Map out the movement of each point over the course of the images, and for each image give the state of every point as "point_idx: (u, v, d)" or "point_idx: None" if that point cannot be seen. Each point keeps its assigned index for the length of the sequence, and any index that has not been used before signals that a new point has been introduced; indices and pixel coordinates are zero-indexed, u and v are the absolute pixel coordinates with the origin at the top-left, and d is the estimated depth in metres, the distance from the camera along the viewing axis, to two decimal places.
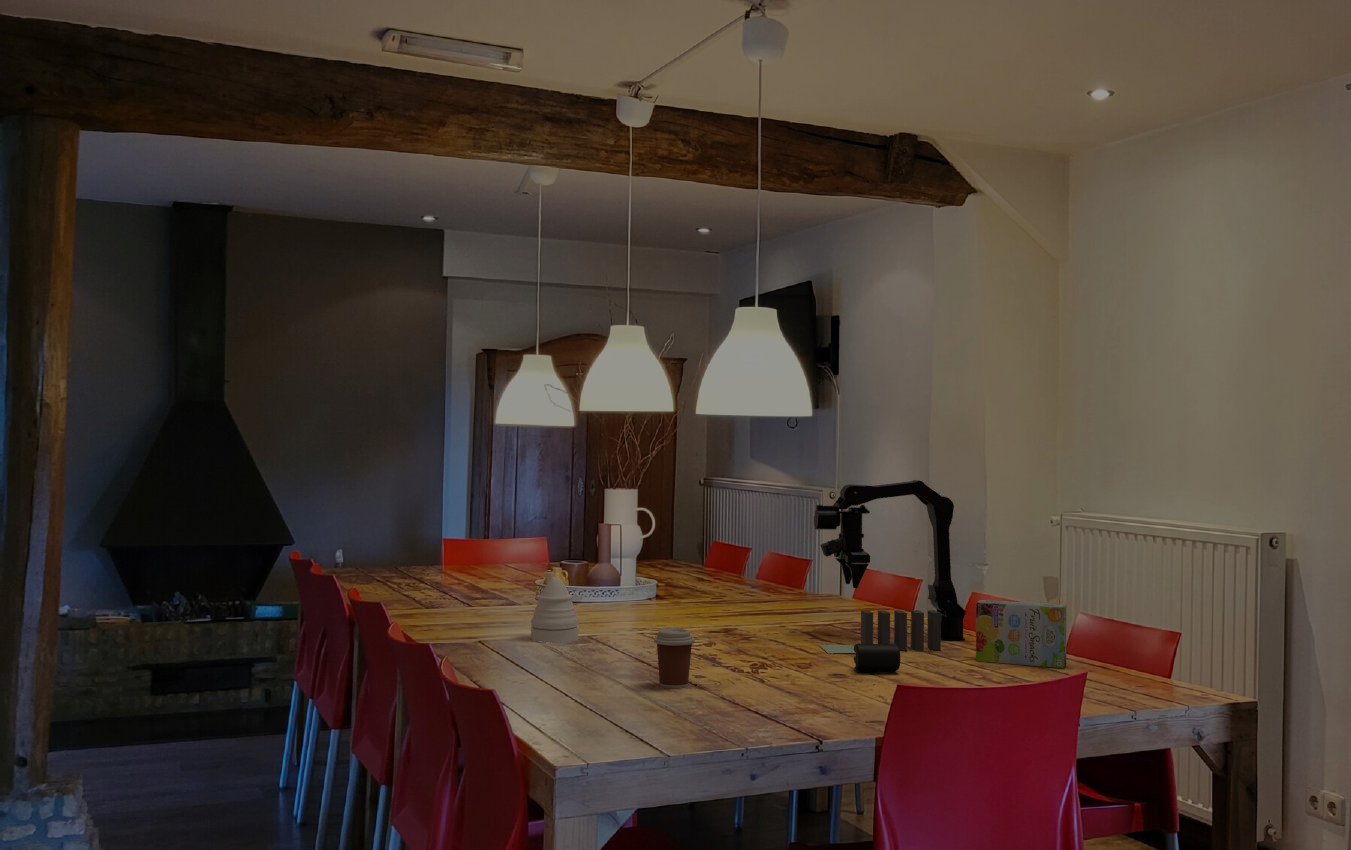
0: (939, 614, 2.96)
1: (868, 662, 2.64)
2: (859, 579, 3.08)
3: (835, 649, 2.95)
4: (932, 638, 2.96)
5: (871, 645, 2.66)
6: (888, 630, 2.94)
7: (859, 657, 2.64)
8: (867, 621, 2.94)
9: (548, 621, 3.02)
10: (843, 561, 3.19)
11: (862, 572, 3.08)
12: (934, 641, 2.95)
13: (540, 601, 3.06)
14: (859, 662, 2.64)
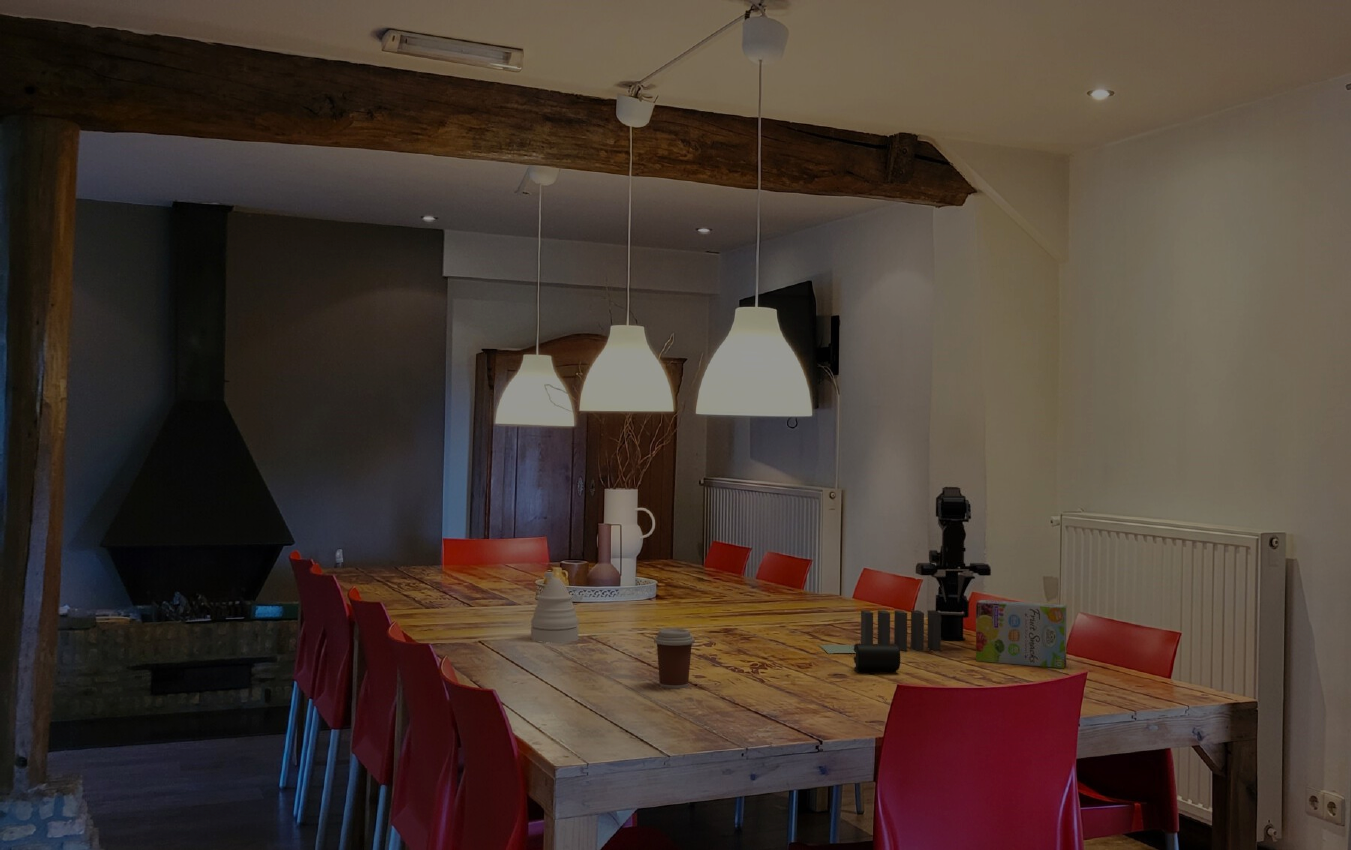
0: (939, 614, 2.96)
1: (868, 662, 2.64)
2: (944, 593, 2.97)
3: (835, 649, 2.95)
4: (932, 638, 2.96)
5: (871, 645, 2.66)
6: (888, 630, 2.94)
7: (859, 657, 2.64)
8: (867, 621, 2.94)
9: (548, 621, 3.02)
10: (959, 577, 3.00)
11: (942, 586, 2.97)
12: (934, 641, 2.95)
13: (540, 601, 3.06)
14: (859, 662, 2.64)
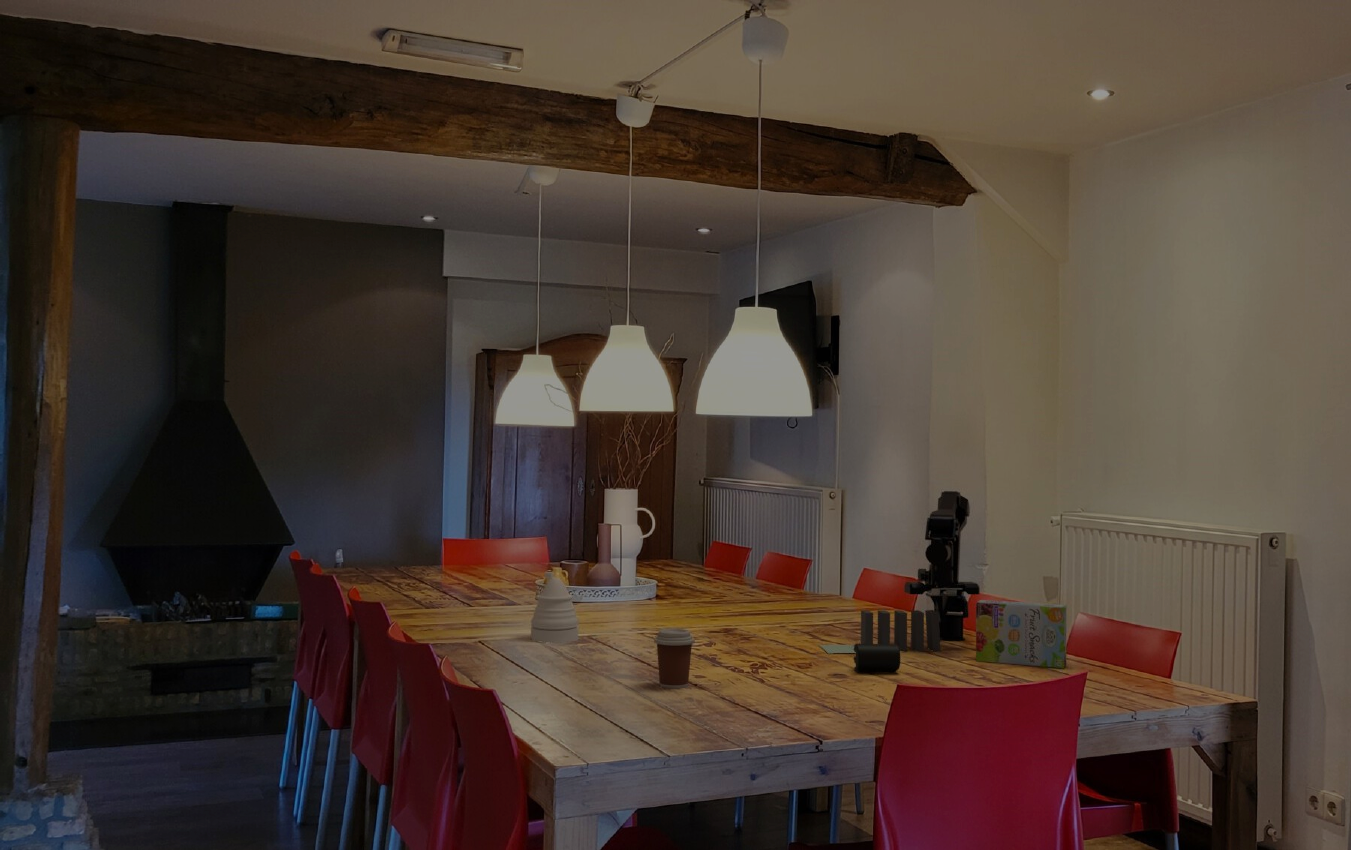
0: (937, 614, 2.96)
1: (868, 662, 2.64)
2: (938, 612, 2.97)
3: (835, 649, 2.95)
4: (931, 638, 2.96)
5: (871, 645, 2.66)
6: (888, 630, 2.94)
7: (859, 657, 2.64)
8: (867, 621, 2.94)
9: (548, 621, 3.02)
10: (942, 596, 2.99)
11: (937, 604, 2.96)
12: (933, 640, 2.95)
13: (540, 601, 3.06)
14: (859, 662, 2.64)
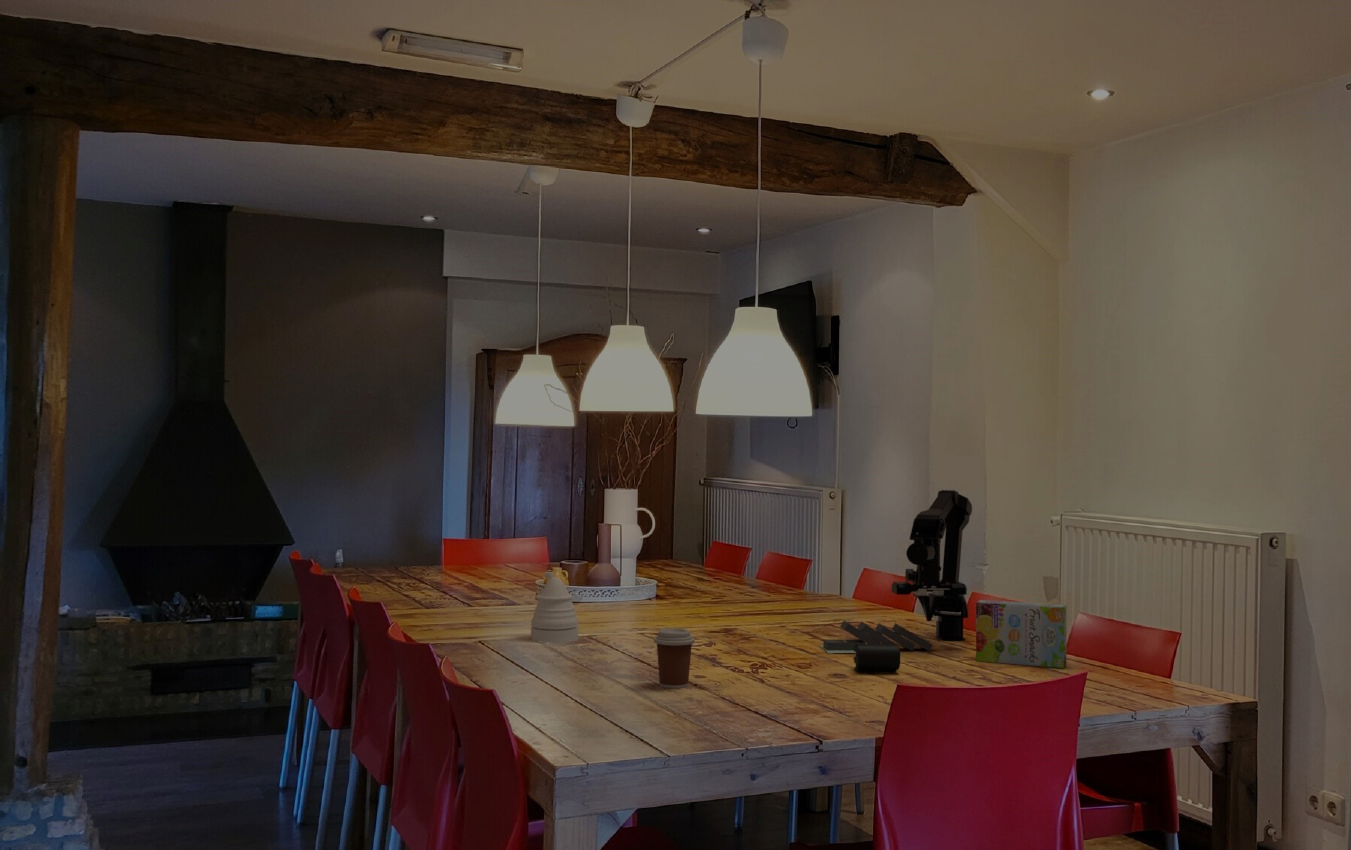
0: (901, 628, 2.95)
1: (868, 662, 2.64)
2: (925, 612, 2.97)
3: None
4: (918, 644, 2.96)
5: (871, 645, 2.66)
6: (862, 633, 2.94)
7: (859, 657, 2.64)
8: (835, 648, 2.93)
9: (548, 621, 3.02)
10: (930, 596, 2.99)
11: (924, 605, 2.96)
12: (921, 645, 2.95)
13: (540, 601, 3.06)
14: (859, 662, 2.64)
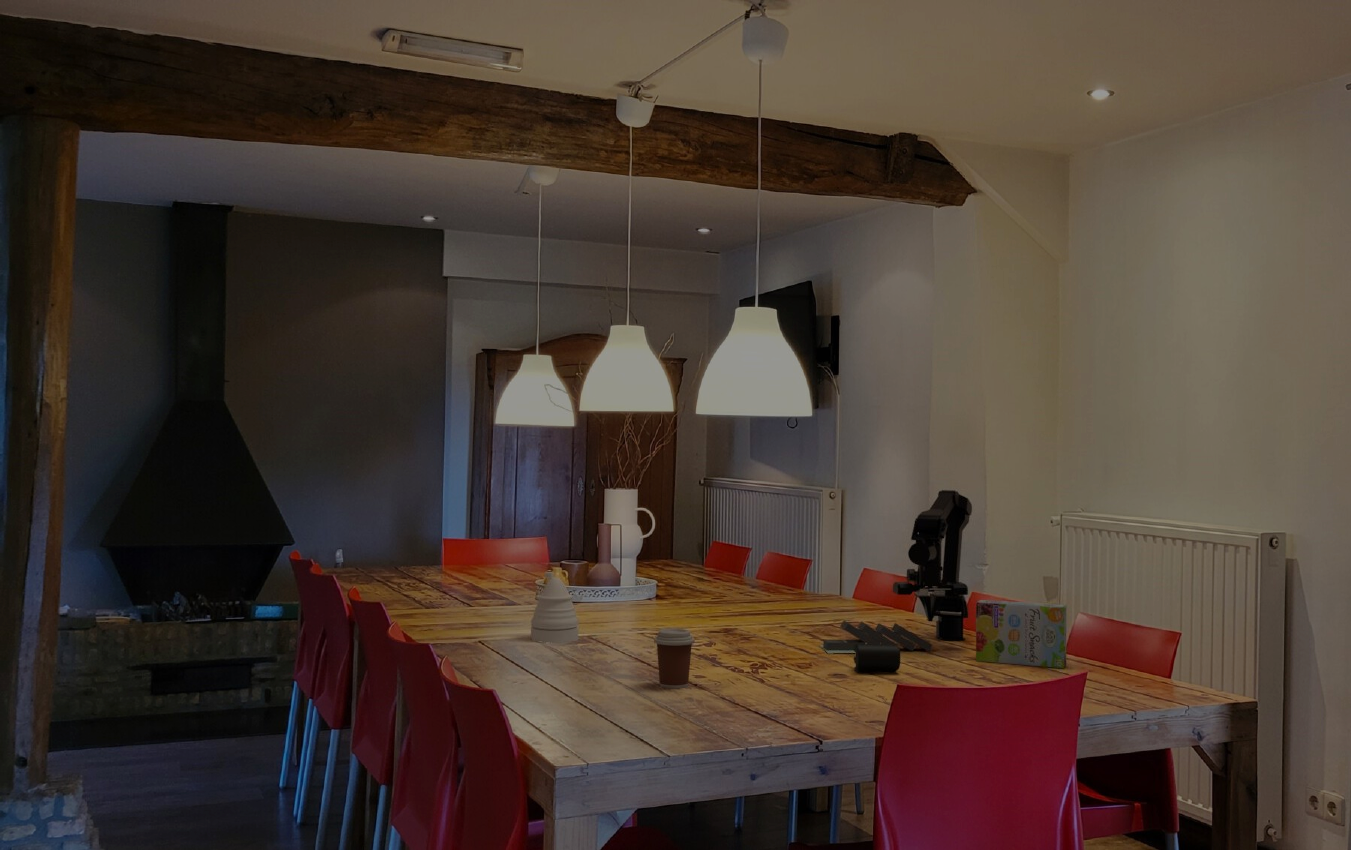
0: (900, 627, 2.95)
1: (868, 662, 2.64)
2: (926, 612, 2.97)
3: None
4: (917, 644, 2.96)
5: (871, 645, 2.66)
6: (862, 633, 2.94)
7: (859, 657, 2.64)
8: (835, 648, 2.93)
9: (548, 621, 3.02)
10: (931, 596, 2.99)
11: (925, 605, 2.96)
12: (920, 645, 2.95)
13: (540, 601, 3.06)
14: (859, 662, 2.64)
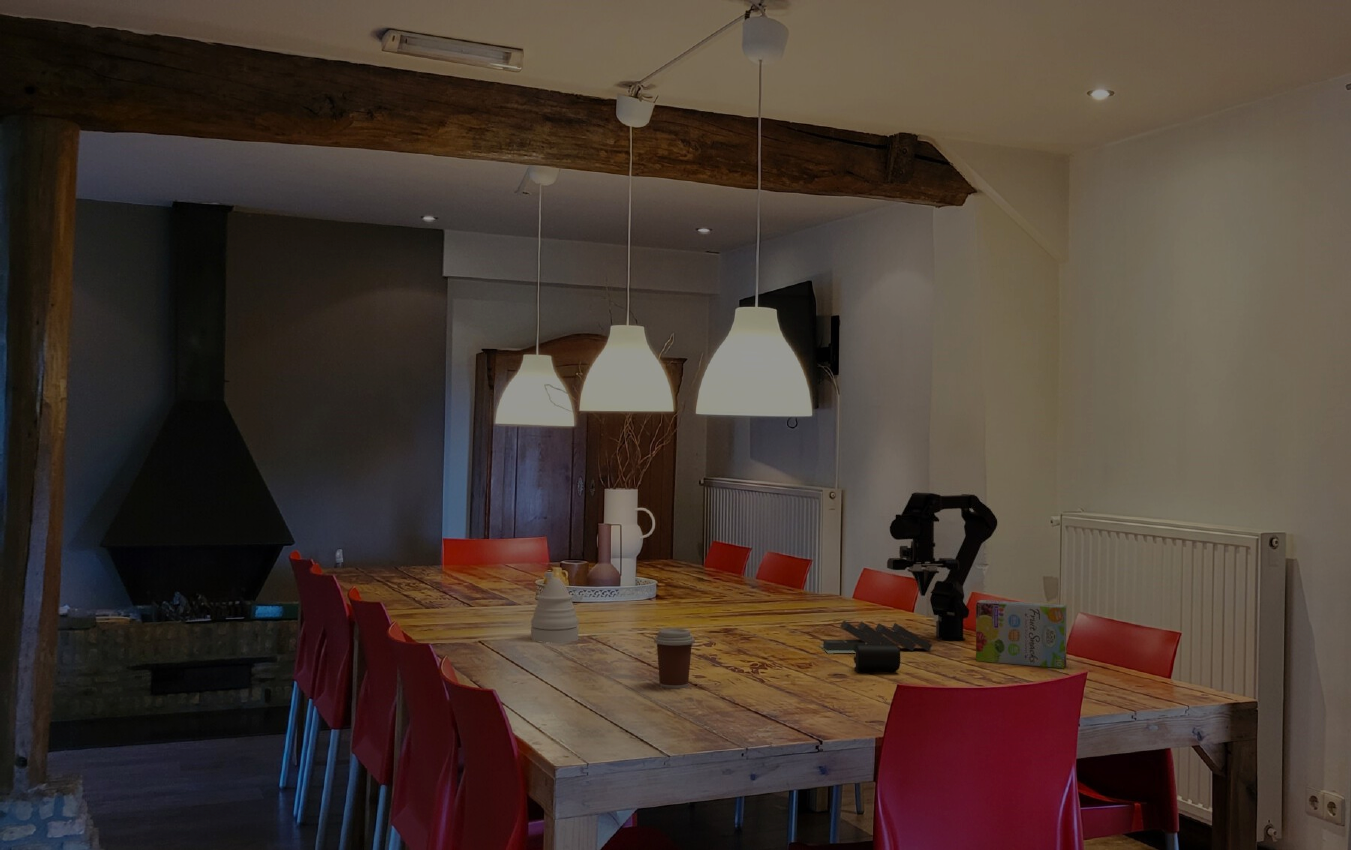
0: (900, 627, 2.95)
1: (868, 662, 2.64)
2: (920, 587, 3.08)
3: None
4: (917, 644, 2.96)
5: (871, 645, 2.66)
6: (862, 633, 2.94)
7: (859, 657, 2.64)
8: (835, 648, 2.93)
9: (548, 621, 3.02)
10: (923, 572, 3.10)
11: (918, 580, 3.07)
12: (920, 645, 2.95)
13: (540, 601, 3.06)
14: (859, 662, 2.64)
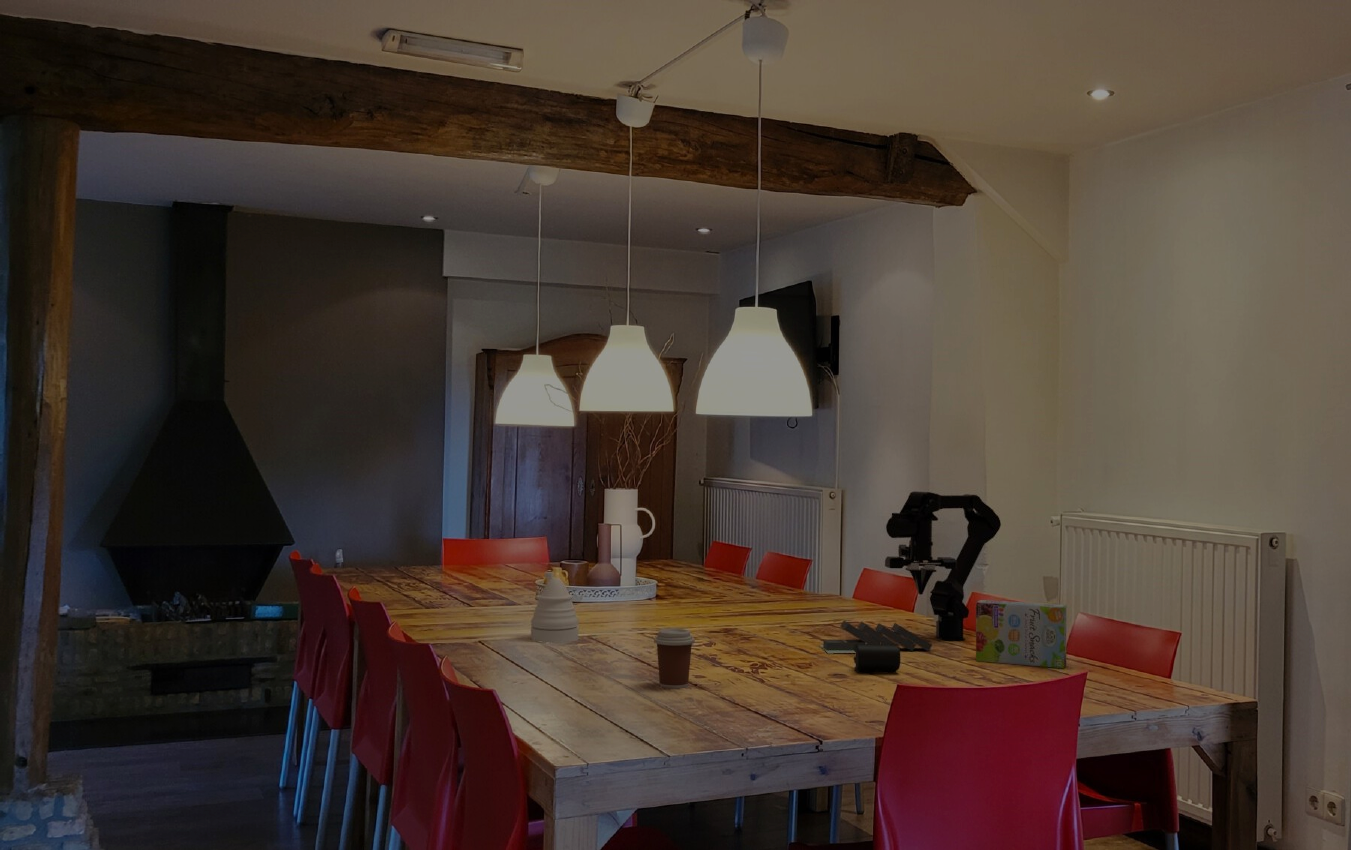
0: (900, 627, 2.95)
1: (868, 662, 2.64)
2: (917, 585, 3.09)
3: None
4: (917, 644, 2.96)
5: (871, 645, 2.66)
6: (862, 633, 2.94)
7: (859, 657, 2.64)
8: (835, 648, 2.93)
9: (548, 621, 3.02)
10: (921, 570, 3.11)
11: (916, 578, 3.08)
12: (920, 645, 2.95)
13: (540, 601, 3.06)
14: (859, 662, 2.64)
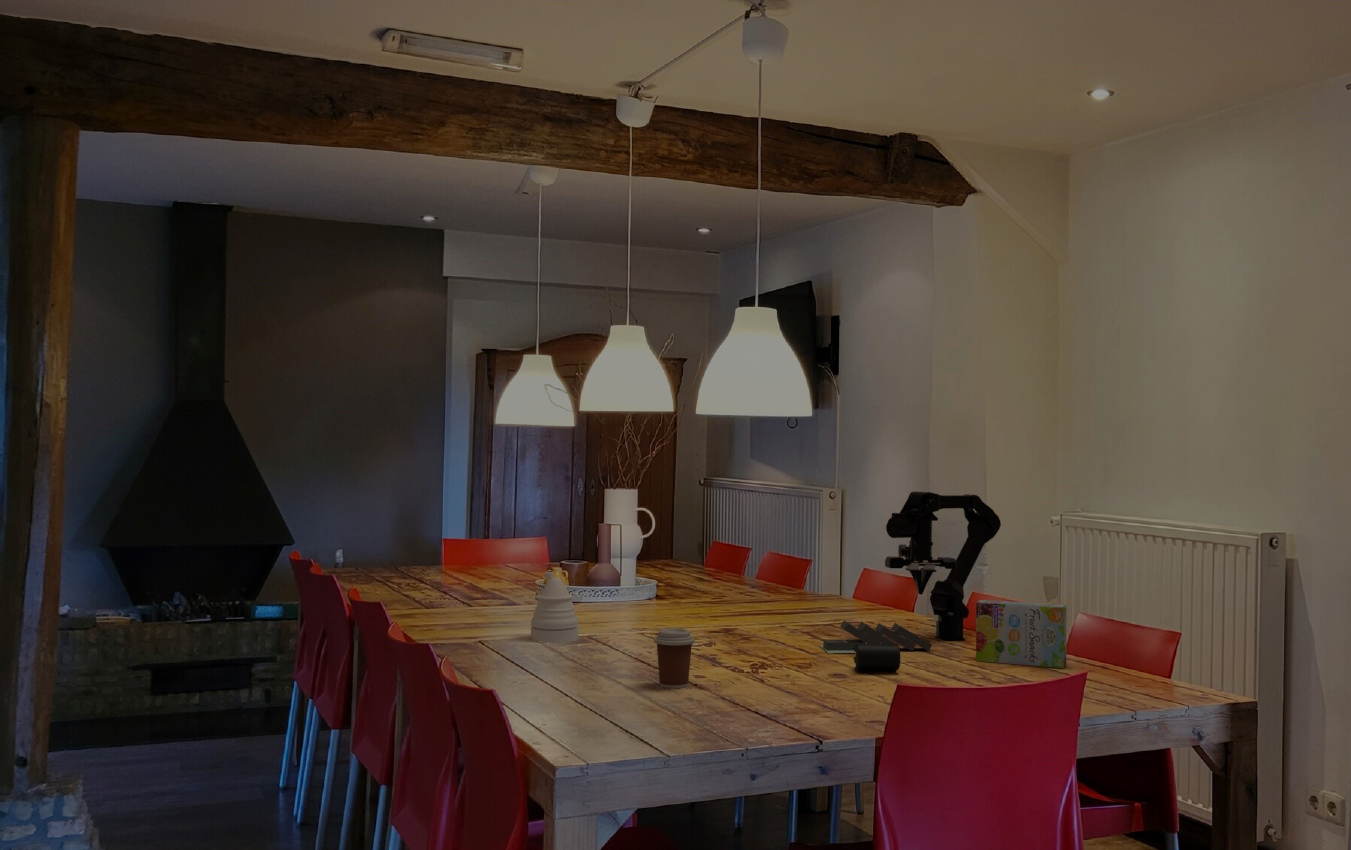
0: (900, 627, 2.95)
1: (868, 662, 2.64)
2: (917, 585, 3.09)
3: None
4: (917, 644, 2.96)
5: (871, 645, 2.66)
6: (862, 633, 2.94)
7: (859, 657, 2.64)
8: (835, 648, 2.93)
9: (548, 621, 3.02)
10: (921, 570, 3.11)
11: (916, 578, 3.08)
12: (920, 645, 2.95)
13: (540, 601, 3.06)
14: (859, 662, 2.64)
